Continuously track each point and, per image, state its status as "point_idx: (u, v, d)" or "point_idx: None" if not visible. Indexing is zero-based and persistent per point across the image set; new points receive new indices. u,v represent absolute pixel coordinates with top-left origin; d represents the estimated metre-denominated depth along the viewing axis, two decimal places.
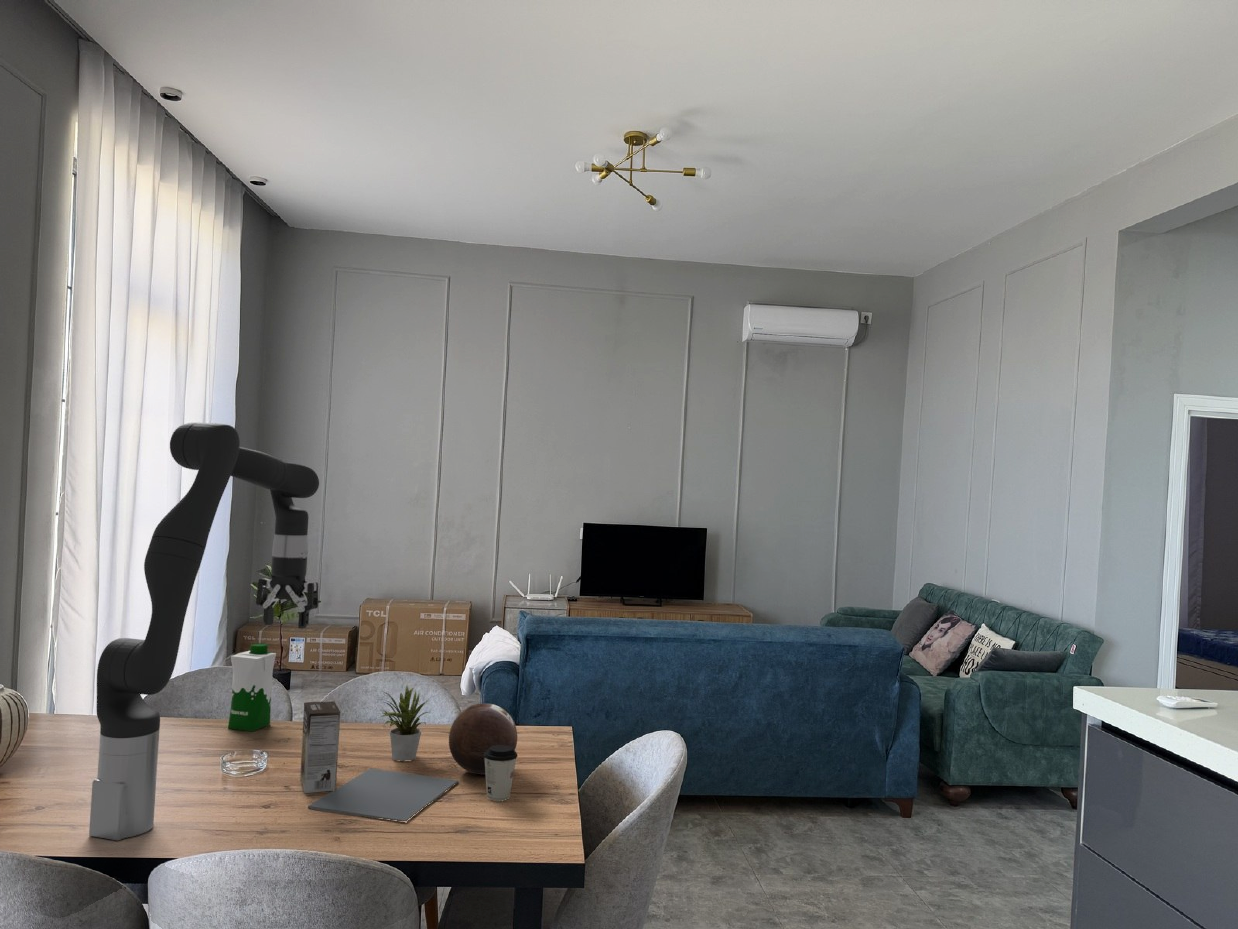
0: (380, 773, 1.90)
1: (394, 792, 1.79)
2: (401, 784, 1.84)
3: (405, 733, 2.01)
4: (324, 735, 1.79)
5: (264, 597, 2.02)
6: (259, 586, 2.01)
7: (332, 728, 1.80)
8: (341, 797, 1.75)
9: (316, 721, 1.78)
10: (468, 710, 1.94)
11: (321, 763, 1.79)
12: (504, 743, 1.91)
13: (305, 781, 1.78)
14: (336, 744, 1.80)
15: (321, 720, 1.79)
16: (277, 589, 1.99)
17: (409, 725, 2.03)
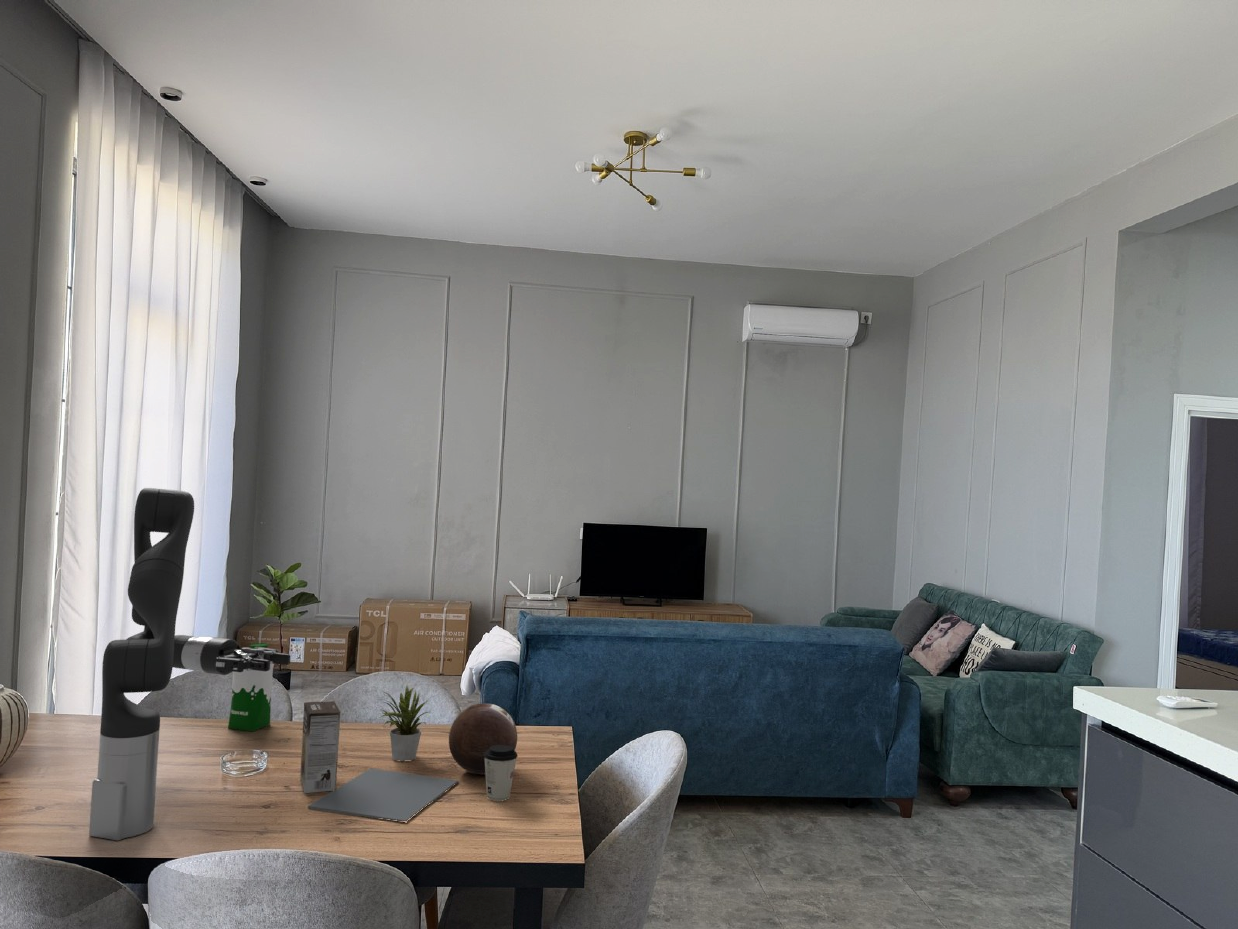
0: (380, 773, 1.90)
1: (394, 792, 1.79)
2: (401, 784, 1.84)
3: (405, 733, 2.01)
4: (324, 735, 1.79)
5: (236, 668, 1.82)
6: (224, 658, 1.82)
7: (332, 728, 1.80)
8: (341, 797, 1.75)
9: (316, 721, 1.78)
10: (468, 710, 1.94)
11: (321, 763, 1.79)
12: (504, 743, 1.91)
13: (305, 781, 1.78)
14: (336, 744, 1.80)
15: (321, 720, 1.79)
16: (239, 650, 1.87)
17: (409, 725, 2.03)
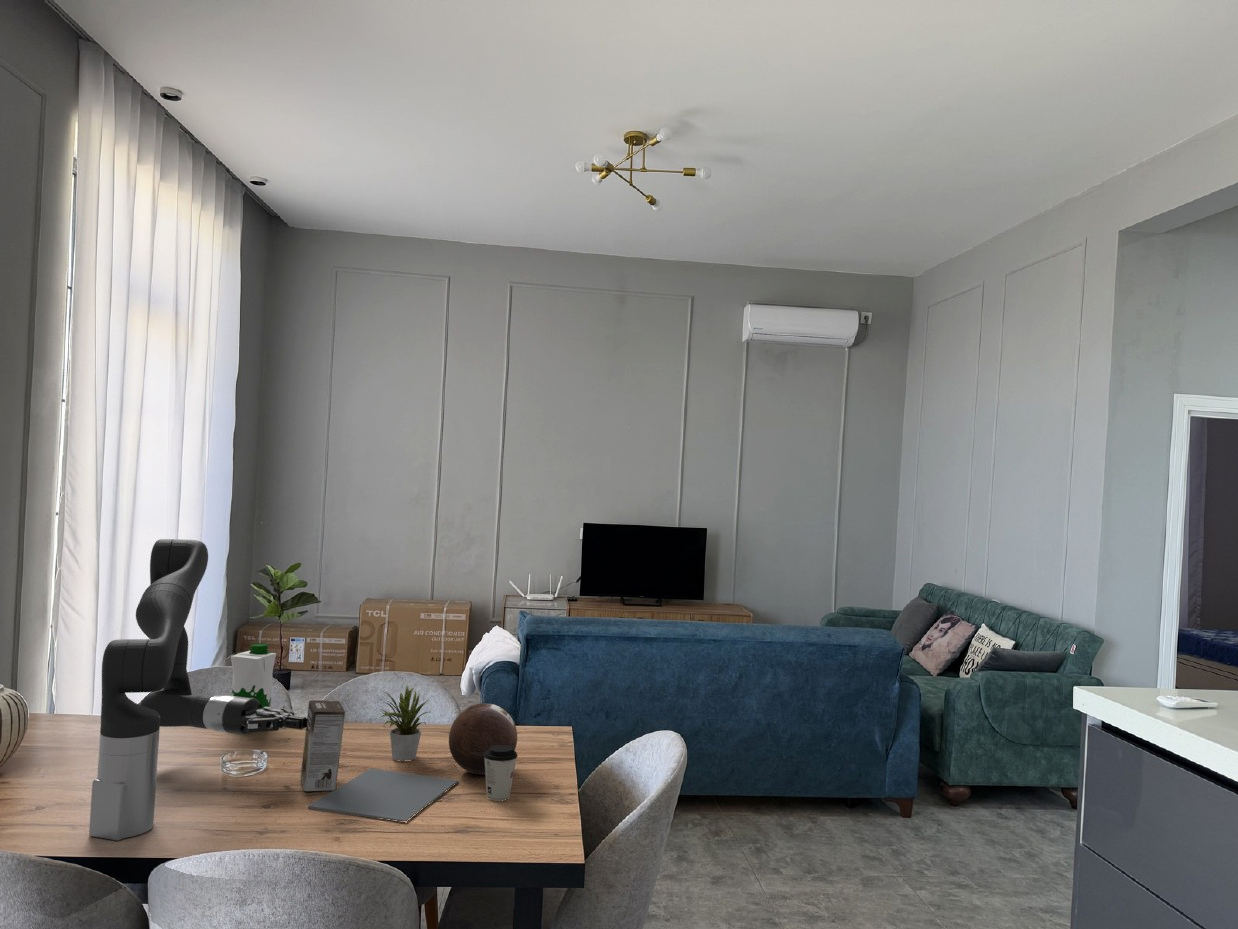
0: (380, 773, 1.90)
1: (394, 792, 1.79)
2: (401, 784, 1.84)
3: (405, 733, 2.01)
4: (328, 734, 1.79)
5: (270, 727, 1.82)
6: (257, 719, 1.81)
7: (336, 728, 1.80)
8: (341, 797, 1.75)
9: (321, 719, 1.79)
10: (468, 710, 1.94)
11: (323, 762, 1.79)
12: (504, 743, 1.91)
13: (306, 779, 1.78)
14: (339, 744, 1.80)
15: (326, 719, 1.79)
16: (261, 710, 1.85)
17: (409, 725, 2.03)
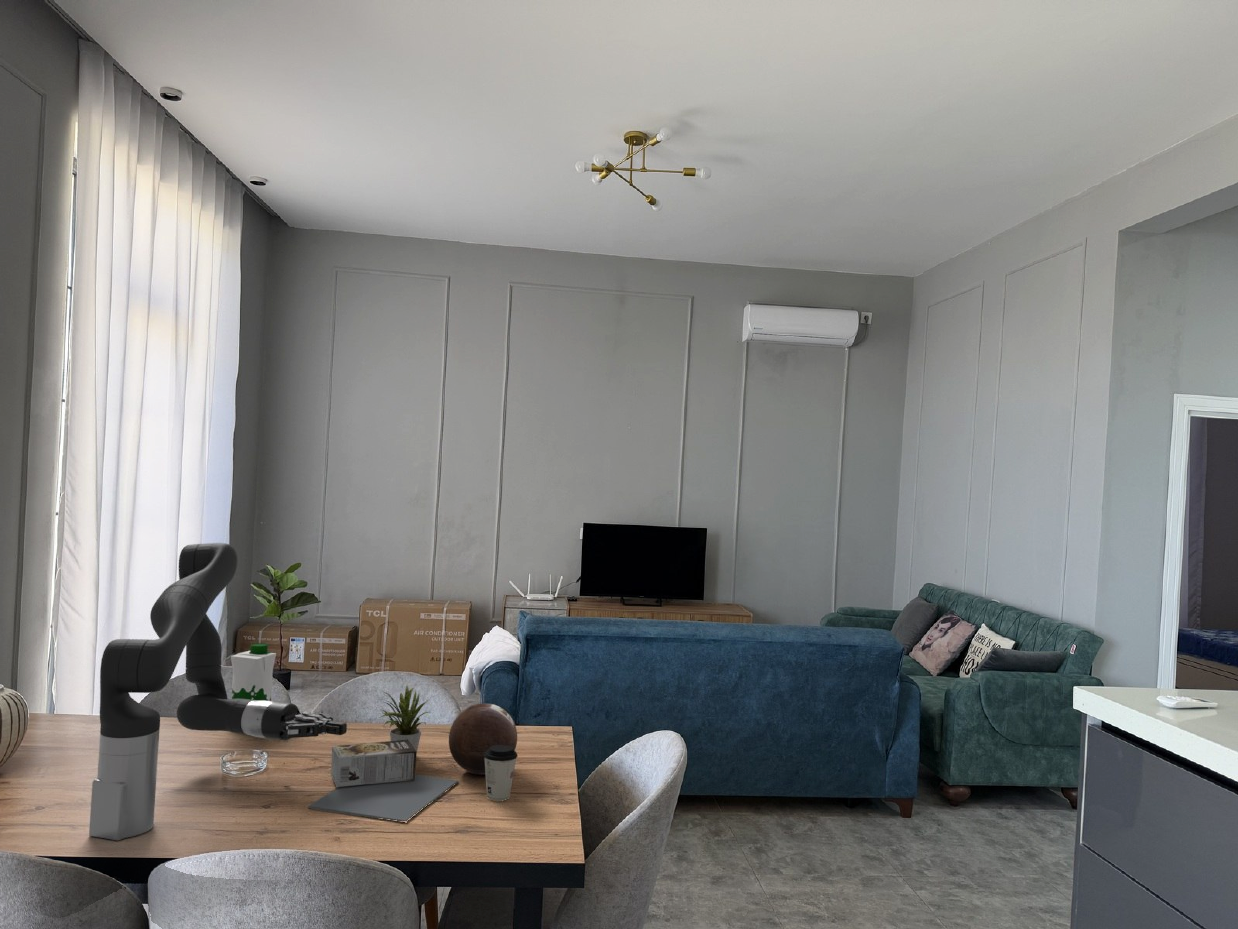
0: None
1: (394, 792, 1.79)
2: (401, 784, 1.84)
3: (405, 733, 2.01)
4: (393, 768, 1.85)
5: (310, 733, 1.80)
6: (297, 725, 1.79)
7: (399, 775, 1.85)
8: (341, 797, 1.75)
9: (408, 759, 1.86)
10: (468, 710, 1.94)
11: (366, 769, 1.82)
12: (504, 743, 1.91)
13: (350, 757, 1.81)
14: (383, 781, 1.84)
15: (409, 763, 1.86)
16: (300, 715, 1.83)
17: (409, 725, 2.03)
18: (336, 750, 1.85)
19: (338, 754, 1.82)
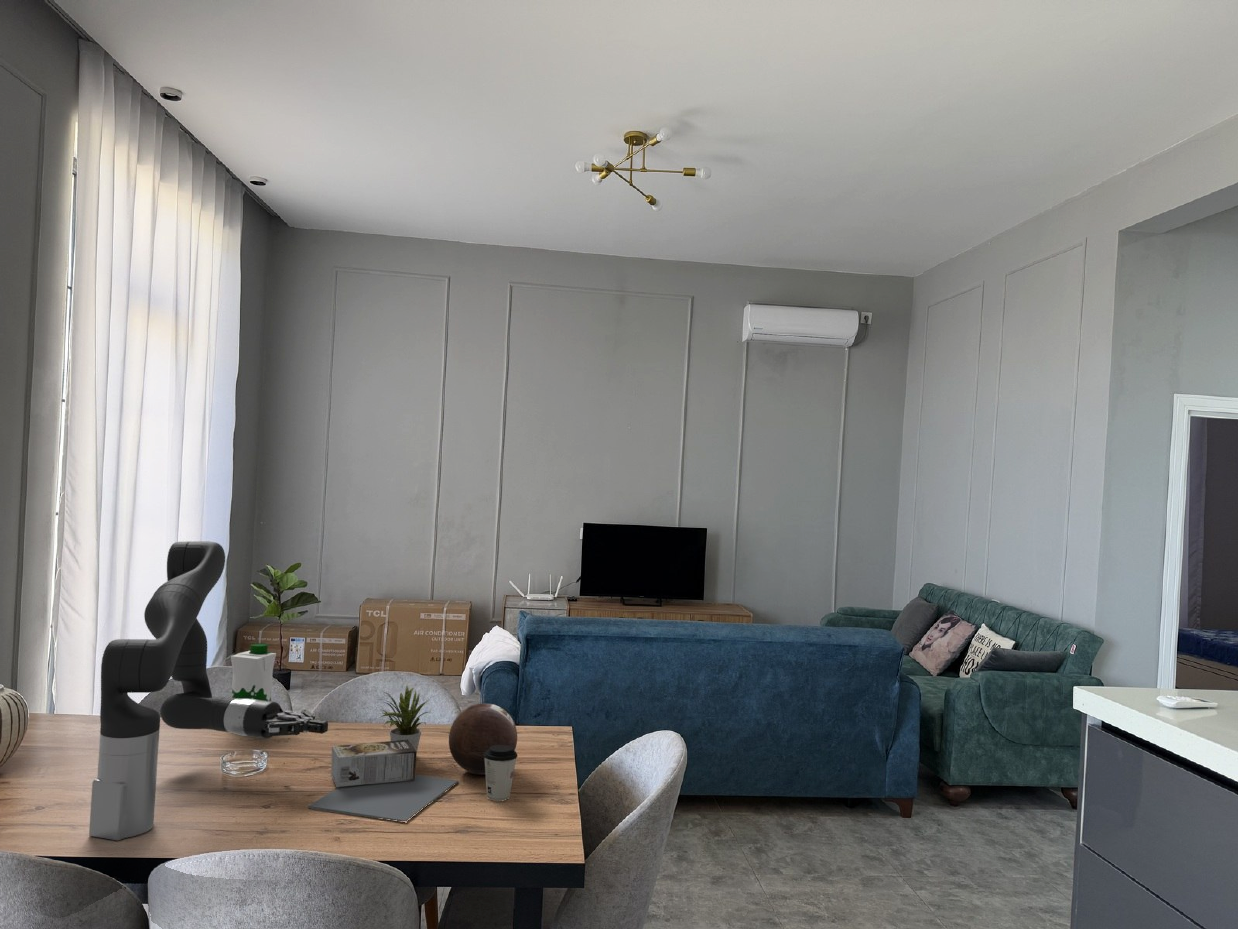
0: None
1: (394, 792, 1.79)
2: (401, 784, 1.84)
3: (405, 733, 2.01)
4: (393, 768, 1.85)
5: (291, 731, 1.81)
6: (278, 723, 1.80)
7: (399, 775, 1.85)
8: (341, 797, 1.75)
9: (408, 759, 1.86)
10: (468, 710, 1.94)
11: (366, 769, 1.82)
12: (504, 743, 1.91)
13: (350, 757, 1.81)
14: (383, 781, 1.84)
15: (409, 763, 1.86)
16: (282, 714, 1.84)
17: (409, 725, 2.03)
18: (336, 750, 1.85)
19: (338, 754, 1.82)
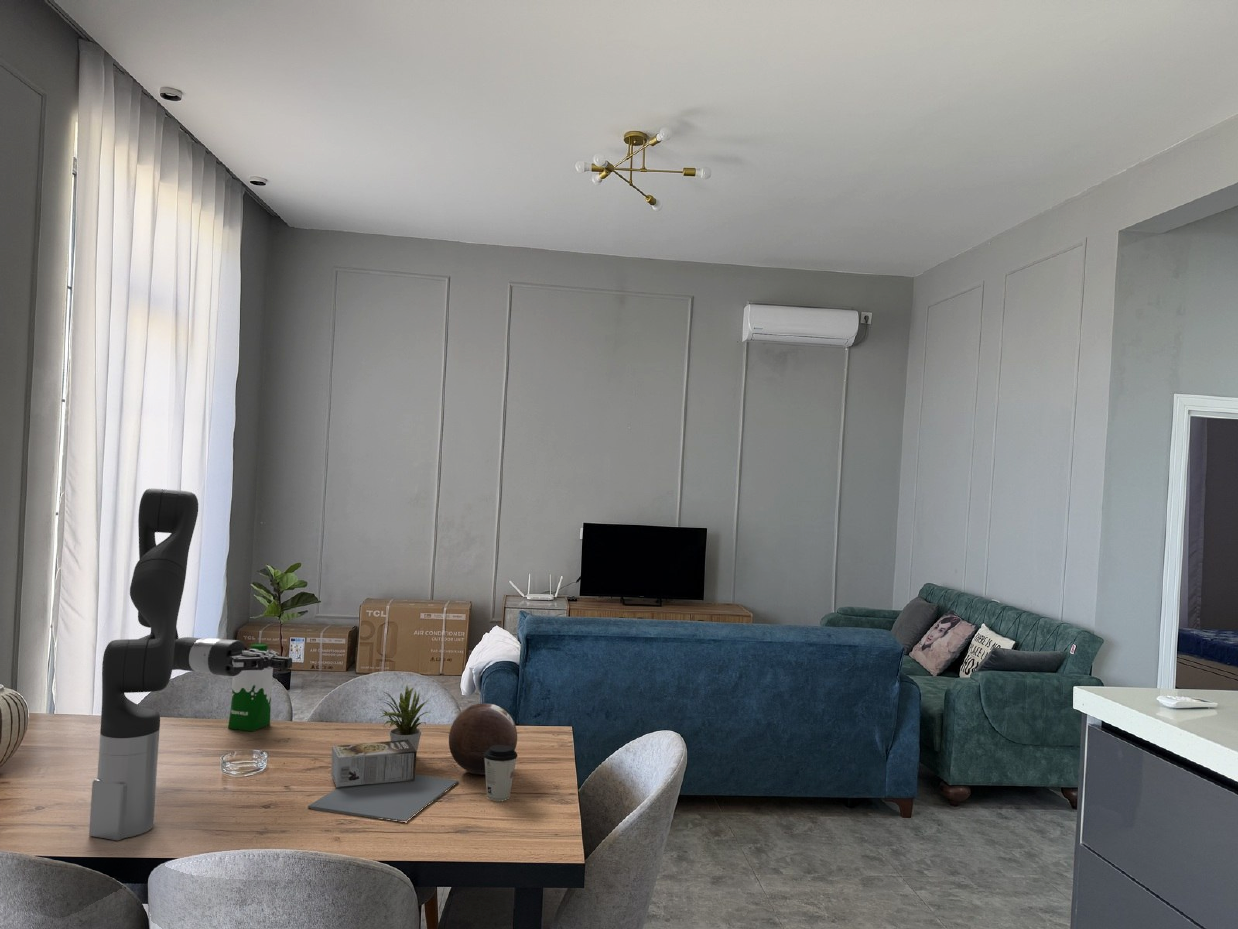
0: None
1: (394, 792, 1.79)
2: (401, 784, 1.84)
3: (405, 733, 2.01)
4: (393, 768, 1.85)
5: (256, 667, 1.83)
6: (242, 658, 1.82)
7: (399, 775, 1.85)
8: (341, 797, 1.75)
9: (408, 759, 1.86)
10: (468, 710, 1.94)
11: (366, 769, 1.82)
12: (504, 743, 1.91)
13: (350, 757, 1.81)
14: (383, 781, 1.84)
15: (409, 763, 1.86)
16: (247, 651, 1.86)
17: (409, 725, 2.03)
18: (336, 750, 1.85)
19: (338, 754, 1.82)
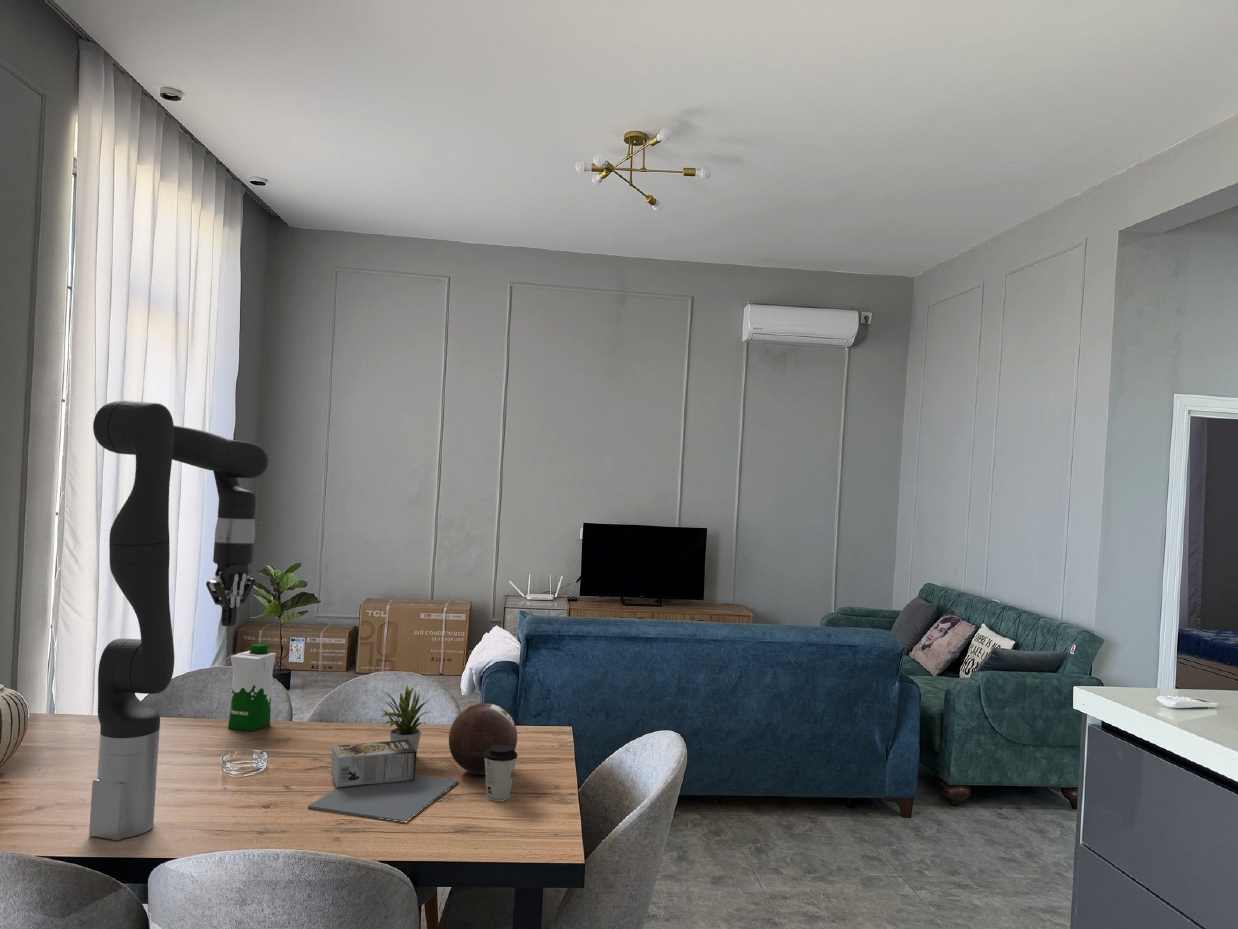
0: None
1: (394, 792, 1.79)
2: (401, 784, 1.84)
3: (405, 733, 2.01)
4: (393, 768, 1.85)
5: (217, 597, 1.78)
6: (220, 589, 1.76)
7: (399, 775, 1.85)
8: (341, 797, 1.75)
9: (408, 759, 1.86)
10: (468, 710, 1.94)
11: (366, 769, 1.82)
12: (504, 743, 1.91)
13: (350, 757, 1.81)
14: (383, 781, 1.84)
15: (409, 763, 1.86)
16: (237, 579, 1.80)
17: (409, 725, 2.03)
18: (336, 750, 1.85)
19: (338, 754, 1.82)
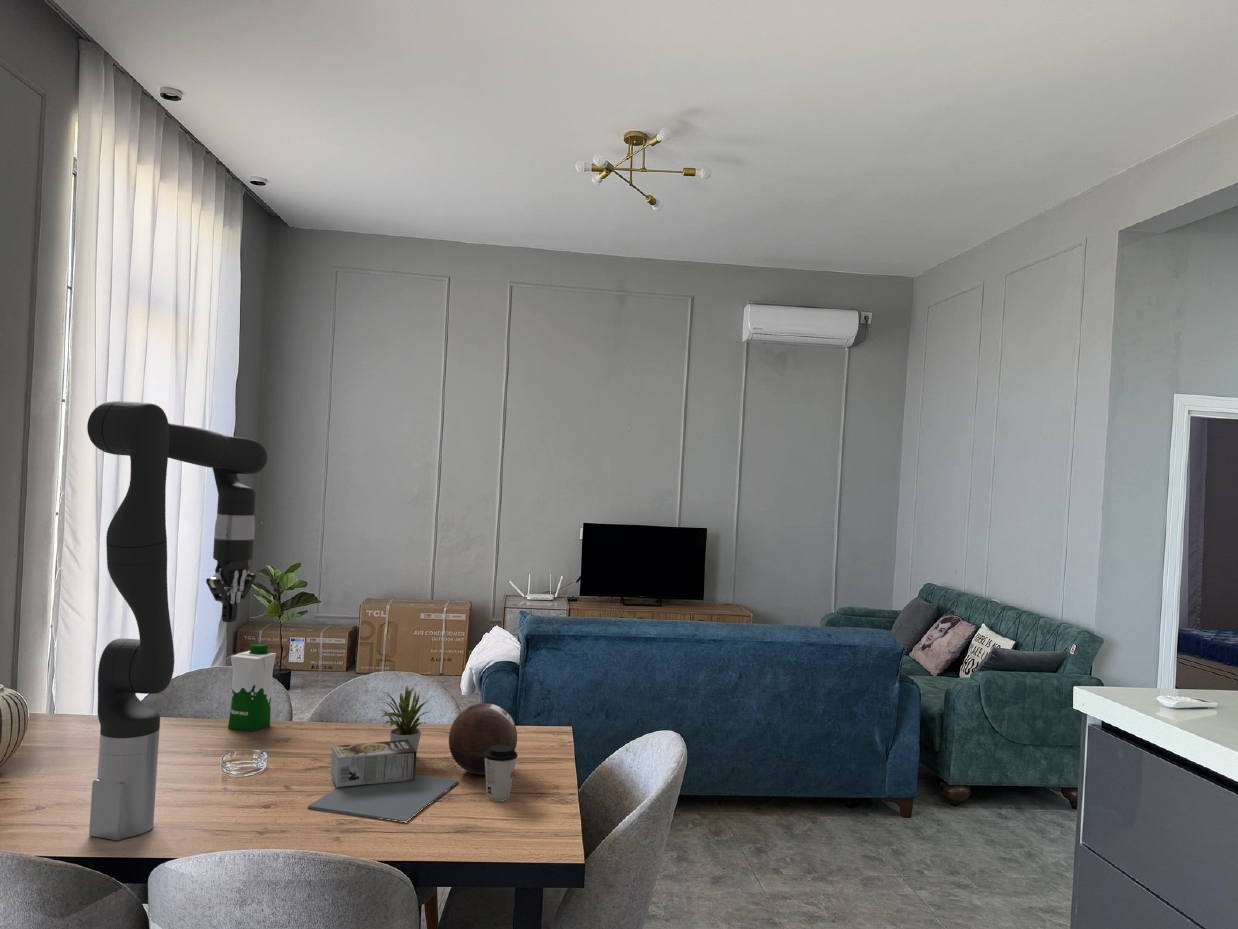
0: None
1: (394, 792, 1.79)
2: (401, 784, 1.84)
3: (405, 733, 2.01)
4: (393, 768, 1.85)
5: (217, 594, 1.78)
6: (220, 586, 1.76)
7: (399, 775, 1.85)
8: (341, 797, 1.75)
9: (408, 759, 1.86)
10: (468, 710, 1.94)
11: (366, 769, 1.82)
12: (504, 743, 1.91)
13: (350, 757, 1.81)
14: (383, 781, 1.84)
15: (409, 763, 1.86)
16: (237, 575, 1.80)
17: (409, 725, 2.03)
18: (336, 750, 1.85)
19: (338, 754, 1.82)
